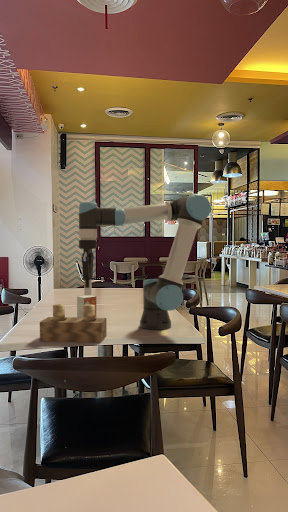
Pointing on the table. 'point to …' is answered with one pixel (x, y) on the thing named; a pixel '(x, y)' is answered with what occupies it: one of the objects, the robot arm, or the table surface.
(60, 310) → the peg
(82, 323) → the socket block
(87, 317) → the peg
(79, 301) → the small box
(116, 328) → the table surface
